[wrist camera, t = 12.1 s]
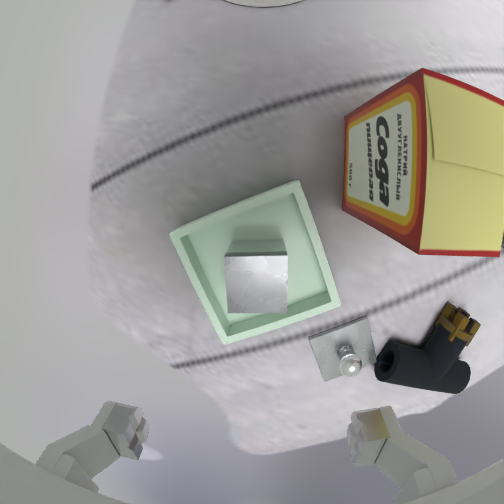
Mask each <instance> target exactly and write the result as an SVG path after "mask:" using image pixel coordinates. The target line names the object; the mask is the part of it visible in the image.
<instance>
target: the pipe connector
mask: <svg viewBox="0 0 504 504" xmlns="http://www.w3.org/2000/svg"><path fill="white" fill-rule="evenodd" d="M469 316H470V314H469V313H467V312H466V311H465V310H463V309H461V308H459V310H458V309H457V308H456V307H455V306H454V305H452V304H450V303H447V305H446V307H445V308H444V310H443V312H442V314H441V315H440V317H439V319H438V320H437V322H436V324H435V325H436V326H437V327H436V328H435V330H434V331H433V333H432V335H431V336H430V338H429V339H428V341H427V342H426V344H425V345H424V347H423V348H422V350H421V349H417V348H414V347H410V346H407V345H404V344H400V343H397V342H393V341H391V342H388V343H386V344H385V346H384V347H383V349H382V350H381V352H380V353H379V355H378V356H377V358H376V360H377V362H376V363H375V367H374V371H375V376H376V378H377V379H378V380H379V381H382V382H387V383H392V384H397V385H403V386H408V387H414V388H419V389H425V390H431V391H438V392H445V393H452V394H457V393H460V392H461V391H463V390H464V389H465V387H466V386H467V384H468V382H469V380H470V374H471V371H470V367H469V365H468V364H467V363H466V362H464V361H461V360H457V357H458V356H459V354H460V353H461V351H462V350H463V348H464V347H465V346H468V345H469V343H470V342H471V340H472V339H473V337H474V335H475V334H476V332H477V330H478V329H479V327H480V324H479V323H478V322H477V321H476V320H475V319H472V318H469ZM468 318H469V319H468Z"/></svg>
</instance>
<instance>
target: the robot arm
mask: <svg viewBox="0 0 504 504" xmlns="http://www.w3.org/2000/svg"><path fill="white" fill-rule="evenodd" d="M225 1H228V2H232V3H235V4H240V5H246V6H255V7H271V6H281V5H287V4H291V3H295V2H298V1H301V0H225ZM143 414H144V413H143V411H142V409H141V408H139V407H133V406H129V405H125V404H121V403H115V402H112V401H107V402H105V403H104V405H103V407H102V408H101V410H100V411H99V413H98V415H97V416H96V418H95V420H94V421H93V423H92V424H91V426H86V427H84V428H82V429H80V430H78V431H76V432H74V433H72V434H70V435H68V436H66V437H64V438H62V439H60V440H57V441H56V442H54V443H51V444H49V445H48V446H47V447H46V449H45V450H44V452H43V453H42V455H41V457H40V458H39V460H38V461H37V463H36V464H34V463H32V462H30V461H28V460H27V459H25V458H23V457H21V456H20V455H18V454H17V453H15V452H13V451H12V450H10V449H8V448H7V447H6V446H4V445H3V444H1V443H0V504H129V503H126V502H123V501H120V500H116V499H113V498H110V497H107V496H105V495H101V494H99V493H98V490H99V488H98V486H97V485H96V484H95V482H94V481H93V480H92V478H93V477H94V476H95V475H97V474H98V473H100V472H101V471H102V470H104V469H105V468H107V467H108V466H109V465H111V464H112V463H113V462H114V461H116V460H117V459H118V458H120V456H122V457H126V458H130V459H136V460H139V457H140V455H141V452H142V450H143V447H142V445H141V444H142V443H143V442H145V441H146V440H147V437H148V433H149V427H148V423H147V421H146V420H145V419H144V418H143V417H142V416H143ZM351 421H352V423H350V424H349V426H348V429H347V441H348V446H349V447H350V448H352V452H351V459H352V463H353V467H359V466H366V465H372V464H374V465H375V466H376V467H377V468H378V469H379V470H380V471H381V472H382V473H384V475H386V476H387V477H388V478H389V479H390V480H391V481H392V482H393V483H395V484H396V485H397V486H398V487H399V488H400V489H401V490H400V492H399V493H398V494H397V495H396V496H395V498H394V499H393V500H392V503H393V504H504V458H503V459H502V460H500V461H498V462H497V463H495V464H493V465H491V466H490V467H488V468H486V469H484V470H482V471H480V472H478V473H476V474H474V475H473V476H470V477H468V478H466V479H464V480H462V481H460V482H459V481H458V479H457V477H456V474H455V472H454V470H453V468H452V466H451V464H450V462H449V459H447V458H446V457H444V456H442V455H441V454H439V453H437V452H435V451H434V450H432V449H431V448H429V447H427V446H426V445H424V444H422V443H420V442H419V441H417V440H416V439H414V438H413V437H411V436H409V435H408V434H403V432H402V430H401V427H400V425H399V423H398V420H397V418H396V416H395V414H394V411H393V409H392V407H391V406H386V407H380V408H373V409H368V410H361V411H355V412H353V413H352V415H351Z"/></svg>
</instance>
